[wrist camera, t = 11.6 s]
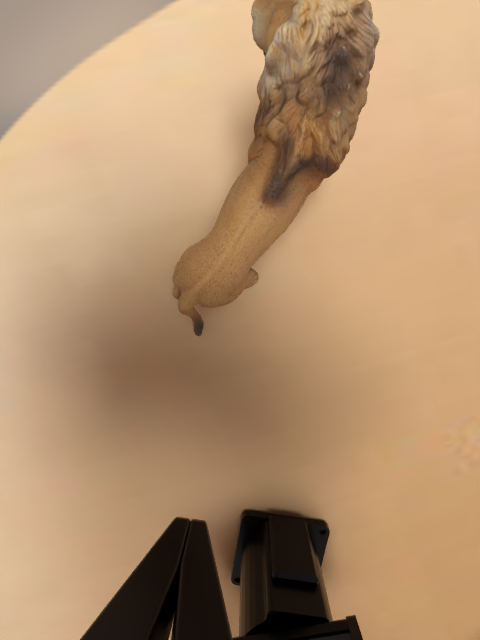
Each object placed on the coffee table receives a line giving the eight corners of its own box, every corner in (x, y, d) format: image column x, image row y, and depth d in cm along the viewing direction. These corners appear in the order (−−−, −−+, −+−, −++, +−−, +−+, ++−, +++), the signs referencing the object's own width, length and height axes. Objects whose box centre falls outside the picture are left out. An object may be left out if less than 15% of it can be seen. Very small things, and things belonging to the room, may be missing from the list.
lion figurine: (260, 80, 16) (274, -130, 7) (346, 124, 17) (456, -29, 8) (164, 317, 19) (92, 367, 10) (238, 350, 19) (229, 426, 11)
